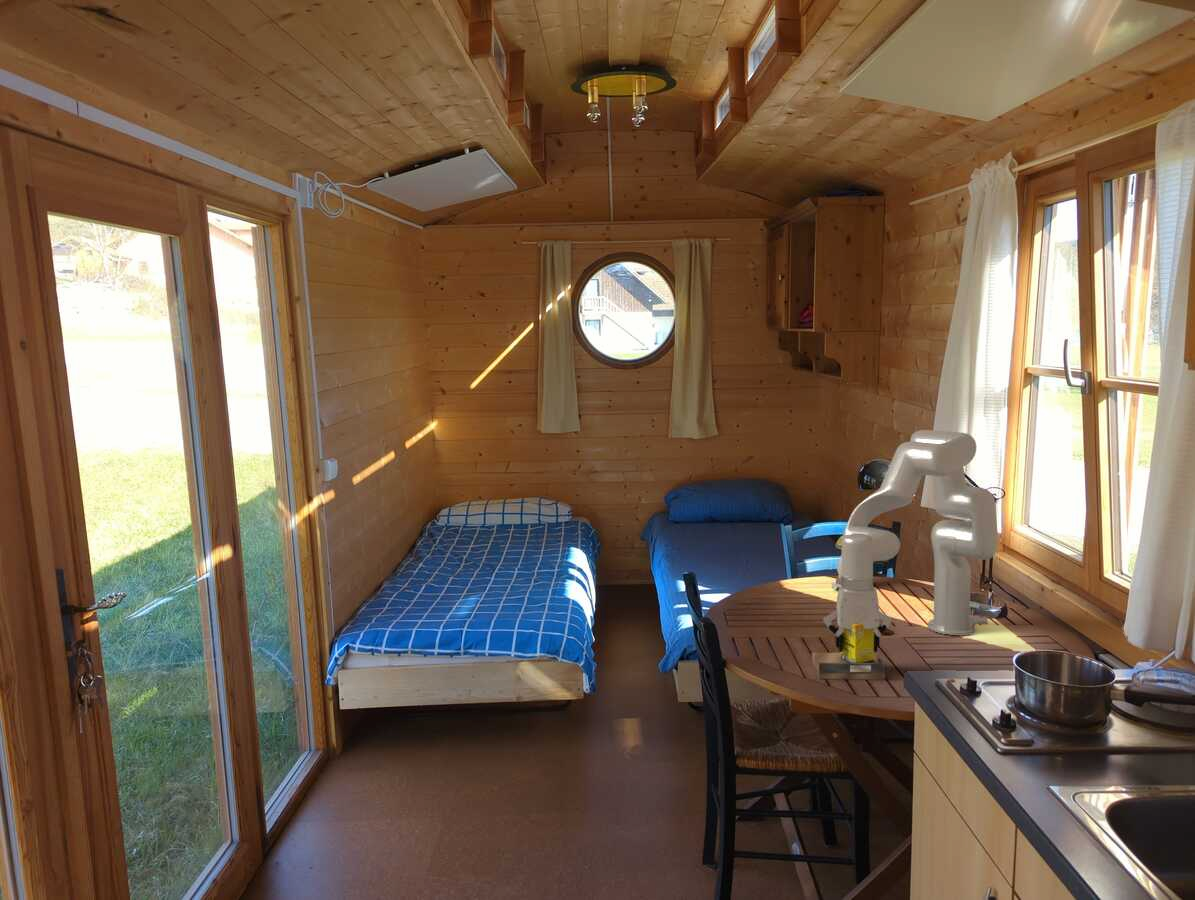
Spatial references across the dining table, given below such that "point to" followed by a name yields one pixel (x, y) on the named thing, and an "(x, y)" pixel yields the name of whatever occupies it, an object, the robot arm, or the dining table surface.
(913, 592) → the dining table surface
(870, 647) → the supplement box
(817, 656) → the flat box
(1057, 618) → the dining table surface
